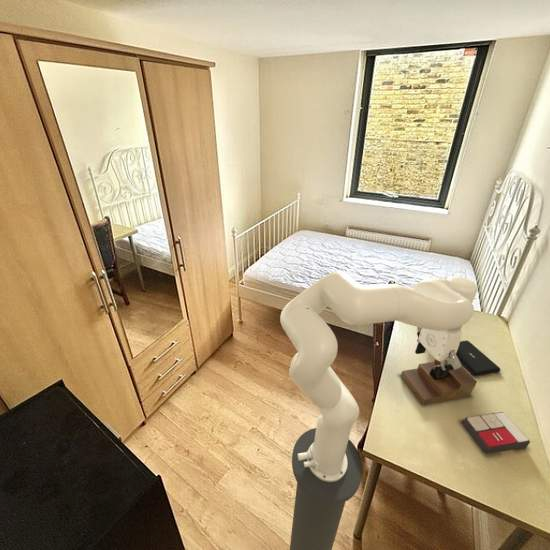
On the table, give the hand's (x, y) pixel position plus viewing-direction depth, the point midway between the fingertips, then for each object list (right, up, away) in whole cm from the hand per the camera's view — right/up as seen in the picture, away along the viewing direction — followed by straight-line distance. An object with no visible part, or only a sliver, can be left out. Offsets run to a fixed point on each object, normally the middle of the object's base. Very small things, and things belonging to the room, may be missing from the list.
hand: (429, 364), depth 89 cm
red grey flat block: (+27, -28, +10) cm, 40 cm away
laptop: (+40, -10, +41) cm, 58 cm away
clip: (+17, -12, +25) cm, 33 cm away
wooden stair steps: (+17, -17, +28) cm, 37 cm away
